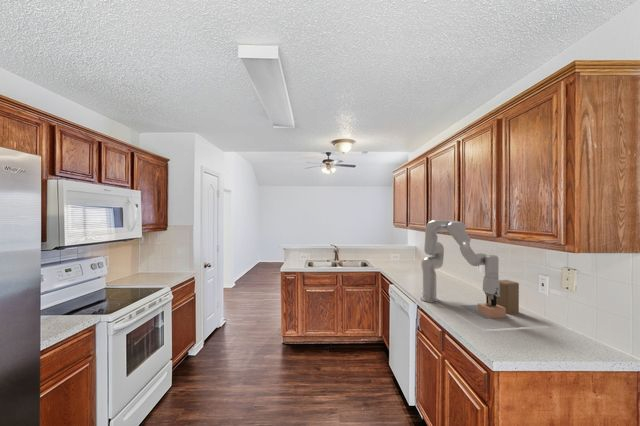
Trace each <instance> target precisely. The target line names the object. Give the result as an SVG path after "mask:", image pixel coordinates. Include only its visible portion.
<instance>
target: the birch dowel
mask: <svg viewBox="0 0 640 426" xmlns="http://www.w3.org/2000/svg"><path fill="white" fill-rule="evenodd" d="M494 296H495V295H494ZM491 299H492V295H491V294H488V307H490V308H491V307H495V306H491Z"/></svg>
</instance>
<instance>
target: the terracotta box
mask: <svg viewBox="0 0 640 426" xmlns="http://www.w3.org/2000/svg"><path fill="white" fill-rule="evenodd" d="M477 305H478V313H480V314H482V315H484V316H486V317H488V318H490V319H502V318H501V317H506V315H507V314H506V308H504V307H502V306H500V305H497V304H496V306H495V307H491V308H490V307H488V304H487V303H486V302H484V303H483V302H482V303H477Z"/></svg>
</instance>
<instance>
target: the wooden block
mask: <svg viewBox="0 0 640 426" xmlns="http://www.w3.org/2000/svg"><path fill="white" fill-rule="evenodd" d="M499 285H500V293H499V294H500V297H498V298H497V300H496V304H497V305H500V306H502V307H504V308H506V315H512V314H518V313H519V312H520V311H519V310H520V305H519V304H520V303H519V301H520V290H519V289H520V284H519V282H517V281H512V280H509V279H508V280H507V279H499Z"/></svg>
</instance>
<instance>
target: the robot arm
mask: <svg viewBox="0 0 640 426" xmlns="http://www.w3.org/2000/svg"><path fill="white" fill-rule="evenodd" d="M466 230H467V227H466V224H465V223H464V222H463V221H456V220H451V219H433V220H431V221H428V222H427V224H426V225H425V229H424V233H425V236H424V248H423V249H424V253H425V254H426V255H427V256H426V257H424V258H423V259H422V260H421V270H422V292H421V295H422V296H421V297H420V300H421V301H422V302H425V301H426V302H427V303H437V302H438V301H439V298H438V297H437V273H436V270H438V269H440V268H442V267H443V264H444V253H445V248H444V245H443V243H441V242H439V241H438V237H439V236H438V234H437V233H438V232H439V233H440V232H441V233H442V232H448V233H449V234H450V235H451V237H452V238H453V240H454V241H455V242H456V243H457V244H458V246H459V250H460V253H461V255H462V257H463V258H464V259H465V260H466V262H467V263H468V264H469V265H470V266H472V267H479V266H484V276H483V280H482V291H483V293H484V294H485V297H486V300H485V303H487V304H488V294H491V295H492V299H491V306H496V300H497V298H498V297H500V294H499V293H500V285H499V280H500V279H499V271H500V270H499V264H500V263H499V261H500V260H499V256H498V255H496V254H487V253H483V252H482V253H481V252H480V253H476V252H474V250H473V249H472V247H471V244H470V243H471V237H470V236H469V234H468V233H467V232H466ZM494 295H495V296H494ZM426 302H425V303H426Z"/></svg>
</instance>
